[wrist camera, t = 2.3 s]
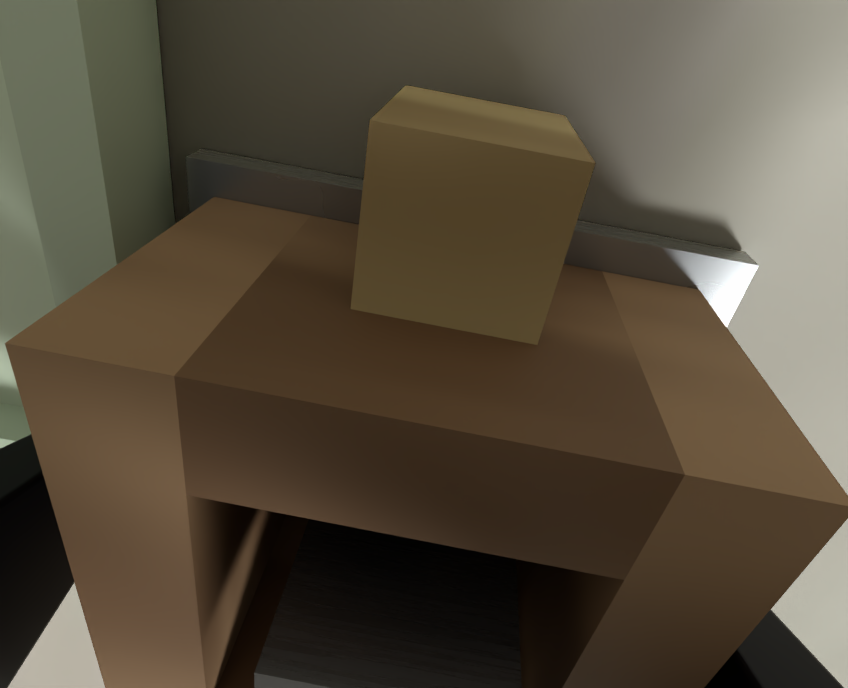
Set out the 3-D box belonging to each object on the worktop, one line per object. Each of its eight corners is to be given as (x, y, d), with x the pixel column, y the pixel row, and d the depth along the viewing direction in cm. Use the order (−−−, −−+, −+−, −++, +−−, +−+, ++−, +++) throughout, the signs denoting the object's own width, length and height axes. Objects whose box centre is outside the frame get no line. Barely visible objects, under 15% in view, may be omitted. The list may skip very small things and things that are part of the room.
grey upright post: (577, 585, 12) (628, 943, 8) (221, 516, 12) (57, 829, 8) (744, 251, 8) (1095, 595, 3) (201, 148, 8) (-197, 347, 3)
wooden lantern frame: (557, 586, 12) (585, 828, 8) (228, 522, 12) (120, 737, 8) (764, 153, 7) (1030, 300, 3) (208, 47, 7) (-71, 90, 3)
